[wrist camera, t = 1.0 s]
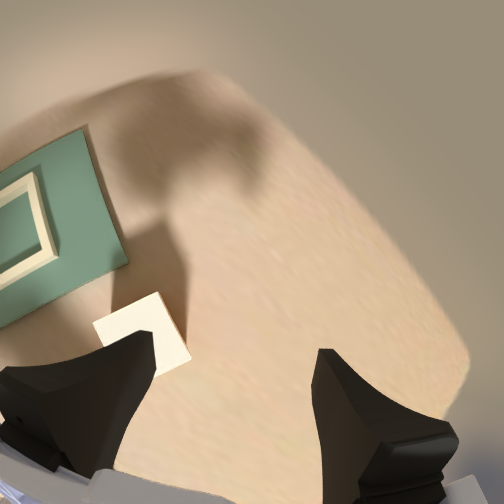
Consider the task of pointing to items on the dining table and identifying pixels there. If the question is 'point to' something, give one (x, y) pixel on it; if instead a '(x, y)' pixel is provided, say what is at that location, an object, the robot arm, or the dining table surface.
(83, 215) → the base plate
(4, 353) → the dining table surface
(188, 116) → the dining table surface
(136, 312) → the brick stack
